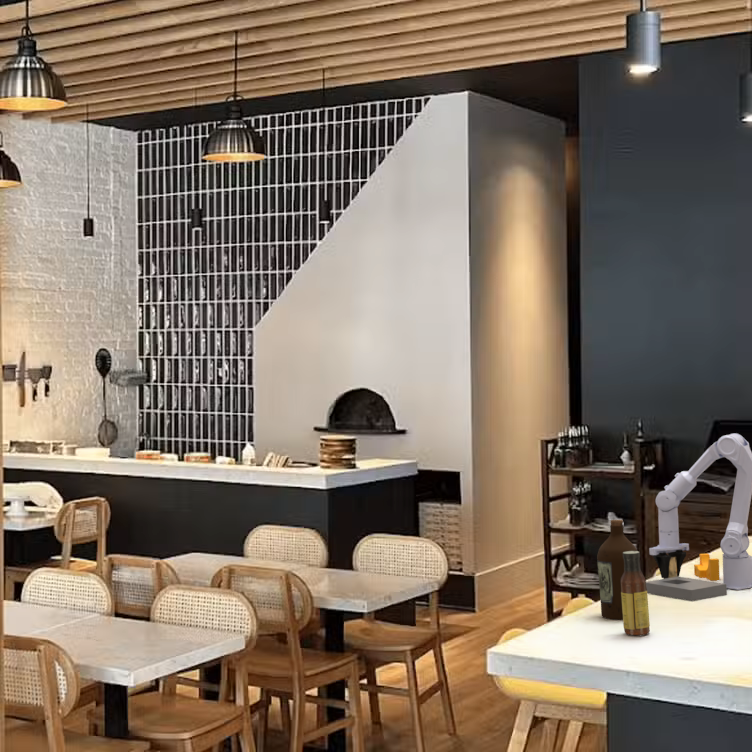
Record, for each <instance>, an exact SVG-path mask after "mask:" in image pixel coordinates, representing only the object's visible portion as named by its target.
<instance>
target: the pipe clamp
mask: <svg viewBox="0 0 752 752" xmlns="http://www.w3.org/2000/svg"><path fill="white" fill-rule="evenodd" d="M698 556H699V564H693V568H694V570H693V571H694V576H696V577H698V579H707V580H708V581H710V582H716V581H717V580H721V579H720V559H719V558H711V555H710V554H709V553H699V555H698ZM717 582H718V581H717Z"/></svg>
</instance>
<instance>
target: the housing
mask: <svg viewBox="0 0 752 752" xmlns="http://www.w3.org/2000/svg"><path fill="white" fill-rule="evenodd" d="M646 588H647V595H648V594H649V595H654V596H661V597H665V596H666V598H671V597H672V599H677V598H678V600H684V601H690V602H694V601H701V600H705V599H711V598H716V597H721V596H722V597H723V596H726V595H728V592H727V591H728V590H727V589H728V588H727V587H726V584H723V582H718V581H717V582H716V581H710V580H705V579H704V580H703V579H699V578H698V579H696V578H690V577H684V576H678V577H672V578H666V579H663V578H661V579H656V580H655V579H653V580H649V581H646Z"/></svg>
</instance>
